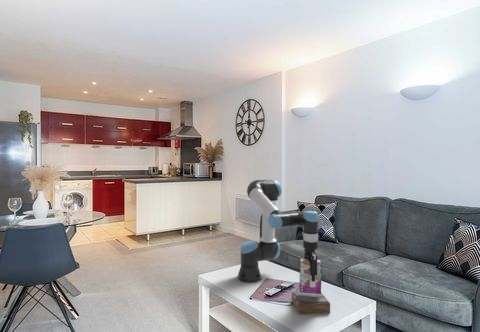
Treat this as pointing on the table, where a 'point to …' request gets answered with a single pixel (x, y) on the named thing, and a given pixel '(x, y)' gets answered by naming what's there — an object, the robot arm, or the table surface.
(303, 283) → the candy bar box
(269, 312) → the table surface
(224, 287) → the table surface
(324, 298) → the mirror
